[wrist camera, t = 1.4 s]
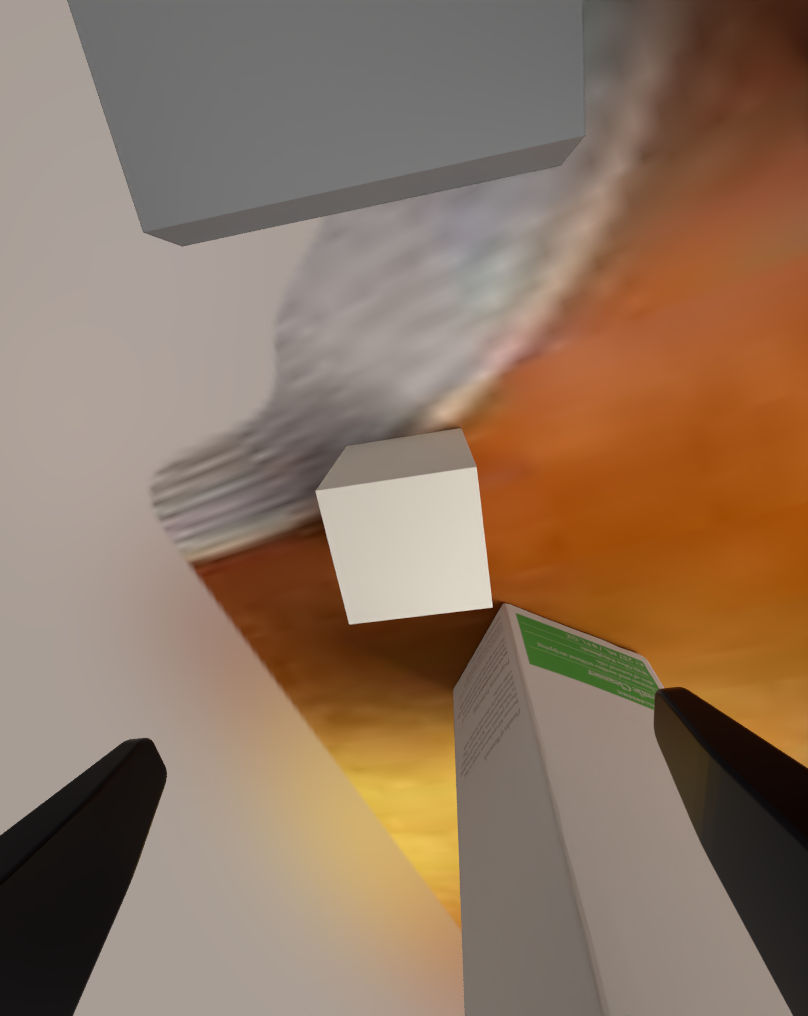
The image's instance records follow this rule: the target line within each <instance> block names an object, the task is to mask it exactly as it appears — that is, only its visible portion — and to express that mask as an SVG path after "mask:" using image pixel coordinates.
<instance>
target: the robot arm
mask: <svg viewBox="0 0 808 1016" xmlns="http://www.w3.org/2000/svg"><path fill="white" fill-rule="evenodd" d="M654 733H655V737H656V740H657V742H658V745H659V747H660V749H661V752H662V754H663V757H664V759H665V761H666V764H667V766H668V768H669V771H670V773H671V775H672V778H673V780H674V783H675V785H676V787H677V790H678V792H679V794H680V797H681V799H682V801H683V804H684V806H685V808H686V811H687V813H688V816H689V818H690V820H691V823H692V825H693V827H694V829H695V832H696V834H697V836H698V838H699V841H700V843H701V845H702V847H703V849H704V851H705V853H706V855H707V857H708V859H709V861H710V862H711V864H712V866H713V868H714V870H715V872H716V874H717V876H718V877H719V879H720V881H721V883H722V885H723V887H724V889H725V890H726V892H727V894H728V896H729V898H730V900H731V902H732V903H733V905H734V907H735V909H736V911H737V913H738V915H739V916H740V918H741V920H742V922H743V924H744V926H745V928H746V929H747V931H748V933H749V935H750V937H751V939H752V941H753V943H754V944H755V946H756V948H757V950H758V952H759V954H760V956H761V957H762V959H763V961H764V963H765V965H766V967H767V969H768V970H769V972H770V974H771V976H772V978H773V980H774V982H775V983H776V985H777V987H778V989H779V991H780V993H781V995H782V996H783V998H784V1000H785V1002H786V1004H787V1006H788V1008H789V1009H790V1011H791V1013H792V1015H793V1016H808V768H806V767H805V766H803V765H802V764H800V763H799V762H797V761H796V760H794V759H793V758H791V757H790V756H788V755H787V754H785V753H784V752H782V751H781V750H779V749H777V748H776V747H774V746H773V745H771V744H770V743H768V742H767V741H765V740H764V739H762V738H761V737H759V736H758V735H756V734H755V733H753V732H751V731H750V730H748V729H747V728H745V727H744V726H742V725H741V724H739V723H738V722H736V721H735V720H733V719H732V718H730V717H729V716H727V715H725V714H724V713H722V712H721V711H719V710H718V709H716V708H715V707H713V706H712V705H710V704H709V703H707V702H706V701H704V700H703V699H701V698H700V697H698V696H696V695H695V694H693V693H692V692H690V691H689V690H687V689H685V688H682V687H673V688H663V689H658V690H657V691H656V693H655V699H654ZM166 778H167V771H166V767H165V765H164V763H163V761H162V759H161V757H160V755H159V753H158V751H157V749H156V747H155V745H154V743H153V741H152V740H150V739H149V738H139V739H130V740H127V741H125V742H123V743H121V744H120V745H119V746H118V747H116V748H115V749H114V750H112V751H111V752H110V753H108V754H107V755H106V756H104V757H103V758H102V759H100V760H99V761H98V762H96V763H95V764H94V765H92V766H91V767H90V768H89V769H87V770H86V771H85V772H83V773H82V774H81V775H79V776H78V777H77V778H75V779H74V780H73V781H71V782H70V783H69V784H67V785H66V786H65V787H63V788H62V789H61V790H60V791H58V792H57V793H56V794H54V795H53V796H52V797H51V798H49V799H48V800H46V801H45V802H44V803H42V804H41V805H40V806H38V807H37V808H36V809H35V810H33V811H32V812H31V813H29V814H28V815H27V816H25V817H24V818H23V819H21V820H20V821H19V822H17V823H16V824H15V825H13V826H12V827H11V828H10V829H8V830H7V831H6V832H4V833H3V834H2V835H0V1016H73V1014H74V1012H75V1009H76V1007H77V1005H78V1003H79V1000H80V998H81V996H82V993H83V991H84V989H85V987H86V984H87V982H88V980H89V977H90V975H91V973H92V971H93V968H94V966H95V963H96V961H97V959H98V957H99V954H100V952H101V950H102V948H103V945H104V943H105V941H106V938H107V936H108V934H109V932H110V929H111V927H112V925H113V922H114V920H115V918H116V915H117V913H118V911H119V908H120V906H121V904H122V902H123V899H124V897H125V895H126V892H127V890H128V888H129V885H130V883H131V880H132V878H133V875H134V872H135V870H136V867H137V864H138V862H139V859H140V856H141V853H142V850H143V847H144V844H145V841H146V838H147V836H148V833H149V830H150V827H151V824H152V821H153V818H154V815H155V812H156V809H157V807H158V804H159V800H160V798H161V795H162V792H163V789H164V786H165V783H166Z"/></svg>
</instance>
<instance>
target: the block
mask: <svg viewBox="0 0 808 1016" xmlns="http://www.w3.org/2000/svg"><path fill="white" fill-rule="evenodd" d="M315 492H316V496H317V500H318V504H319V508H320V511H321V515H322V519H323V523H324V527H325V531H326V535H327V539H328V543H329V547H330V551H331V555H332V559H333V563H334V567H335V571H336V575H337V578H338V582H339V586H340V590H341V594H342V598H343V602H344V606H345V610H346V614H347V618H348V622H349V624H358V623H366V622H375V621H383V620H392V619H400V618H409V617H417V616H425V615H434V614H442V613H451V612H459V611H468V610H476V609H485V608H493V605H492V597H491V588H490V579H489V571H488V562H487V553H486V545H485V536H484V527H483V519H482V510H481V501H480V493H479V484H478V476H477V467H476V464H475V462H474V459H473V457H472V454H471V452H470V449H469V447H468V444H467V442H466V439H465V436H464V434H463V431H462V429H461V428H457V429H451V430H445V431H438V432H432V433H426V434H420V435H413V436H407V437H401V438H394V439H388V440H382V441H375V442H369V443H363V444H357V445H350V446H346V447H345V449H344V450H343V452H342V453H341V455H340V456H339V457H338V459H337V460H336V462H335V463H334V465H333V466H332V468H331V469H330V470H329V472H328V473H327V475H326V476H325V478H324V479H323V481H322V482H321V483H320V485H319V486H318V488H317V489H316V491H315Z"/></svg>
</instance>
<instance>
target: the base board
mask: <svg viewBox="0 0 808 1016" xmlns="http://www.w3.org/2000/svg"><path fill="white" fill-rule="evenodd" d="M67 1H68V3H69V7H70V10H71V13H72V16H73V19H74V22H75V25H76V28H77V31H78V34H79V37H80V41H81V44H82V47H83V50H84V53H85V56H86V59H87V62H88V65H89V68H90V71H91V74H92V77H93V80H94V83H95V86H96V89H97V93H98V96H99V99H100V102H101V105H102V108H103V111H104V114H105V117H106V120H107V123H108V126H109V129H110V132H111V135H112V138H113V141H114V144H115V148H116V151H117V154H118V157H119V160H120V163H121V166H122V169H123V172H124V175H125V178H126V181H127V184H128V187H129V190H130V193H131V196H132V199H133V202H134V206H135V208H136V211H137V215H138V218H139V221H140V224H141V227H142V230H143V232H144V233H147V234H149V235H152V236H155V237H158V238H161V239H163V240H166V241H169V242H171V243H174V244H177V245H180V246H186V245H191V244H195V243H200V242H205V241H210V240H214V239H219V238H224V237H228V236H233V235H237V234H242V233H247V232H252V231H256V230H261V229H265V228H270V227H275V226H280V225H284V224H289V223H294V222H298V221H303V220H308V219H313V218H317V217H322V216H327V215H331V214H336V213H341V212H345V211H350V210H355V209H359V208H364V207H369V206H373V205H378V204H383V203H387V202H392V201H397V200H401V199H406V198H411V197H415V196H420V195H425V194H429V193H434V192H439V191H443V190H448V189H453V188H457V187H462V186H467V185H471V184H476V183H481V182H485V181H490V180H495V179H499V178H504V177H509V176H514V175H518V174H523V173H528V172H532V171H537V170H542V169H546V168H551V167H556V166H560V165H562V163H563V162H564V161H565V160H566V158H567V157H568V156H569V155H570V153H571V152H572V151H573V150H574V148H575V147H576V146H577V145H578V143H579V142H580V141H581V140H582V138H583V137H584V136H585V111H584V64H583V17H582V0H67Z"/></svg>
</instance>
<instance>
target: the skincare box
mask: <svg viewBox="0 0 808 1016" xmlns="http://www.w3.org/2000/svg"><path fill="white" fill-rule="evenodd" d="M663 688H664V686H663V685H662V683H661V682H660V680H659V679H658V677H657V675H656V673H655V672H654V670H653V669H652V667H651V665H650V664H649V662H648V661H647V659H646V658H645V657H643V656H642V655H640V654H637V653H634V652H632V651H629V650H626V649H623V648H620V647H618V646H615V645H613V644H611V643H609V642H606V641H604V640H602V639H599V638H596V637H594V636H591V635H588V634H585V633H583V632H580V631H577V630H575V629H572V628H569V627H567V626H564V625H562V624H559V623H556V622H554V621H551V620H548V619H546V618H543V617H541V616H538V615H536V614H533V613H531V612H528V611H526V610H523V609H521V608H518V607H516V606H513V605H511V604H507V603H503V604H502V606H501V608H500V609H499V611H498V613H497V615H496V616H495V618H494V620H493V621H492V623H491V625H490V627H489V628H488V630H487V632H486V634H485V635H484V637H483V639H482V641H481V642H480V644H479V646H478V648H477V649H476V651H475V653H474V655H473V656H472V658H471V660H470V662H469V663H468V665H467V667H466V668H465V670H464V672H463V674H462V675H461V677H460V679H459V681H458V682H457V684H456V685H455V687H454V689H453V704H454V735H455V762H456V789H457V816H458V841H459V869H460V897H461V922H462V949H463V977H464V1003H465V1004H464V1007H465V1016H793V1015H792V1013H791V1011H790V1009H789V1008H788V1006H787V1004H786V1002H785V1000H784V998H783V996H782V995H781V993H780V991H779V989H778V987H777V985H776V983H775V982H774V980H773V978H772V976H771V974H770V972H769V970H768V969H767V967H766V965H765V963H764V961H763V959H762V957H761V956H760V954H759V952H758V950H757V948H756V946H755V944H754V943H753V941H752V939H751V937H750V935H749V933H748V931H747V929H746V928H745V926H744V924H743V922H742V920H741V918H740V916H739V915H738V913H737V911H736V909H735V907H734V905H733V903H732V902H731V900H730V898H729V896H728V894H727V892H726V890H725V889H724V887H723V885H722V883H721V881H720V879H719V877H718V876H717V874H716V872H715V870H714V868H713V866H712V864H711V862H710V861H709V859H708V857H707V855H706V853H705V851H704V849H703V847H702V845H701V843H700V841H699V838H698V836H697V834H696V832H695V829H694V827H693V825H692V823H691V820H690V818H689V816H688V813H687V811H686V808H685V806H684V804H683V801H682V799H681V797H680V794H679V792H678V790H677V787H676V785H675V783H674V780H673V778H672V775H671V773H670V771H669V768H668V766H667V764H666V761H665V759H664V757H663V754H662V752H661V749H660V747H659V745H658V742H657V740H656V737H655V733H654V699H655V693H656V691H657V690H658V689H663Z"/></svg>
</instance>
